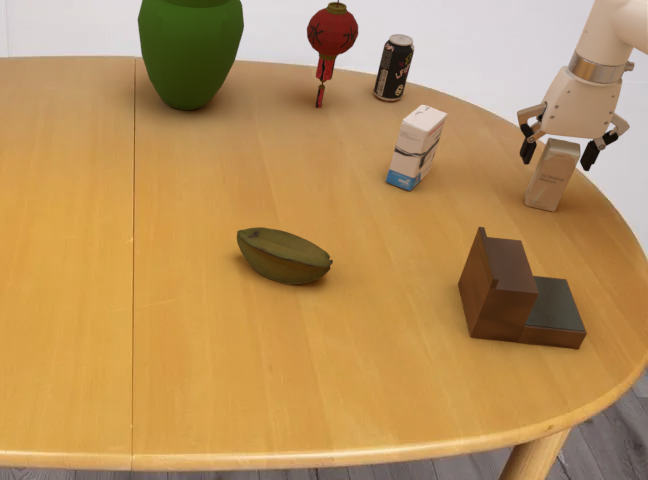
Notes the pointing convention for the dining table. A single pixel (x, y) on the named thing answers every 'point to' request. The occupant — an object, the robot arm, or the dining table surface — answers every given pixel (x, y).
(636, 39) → the robot arm
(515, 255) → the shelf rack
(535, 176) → the box
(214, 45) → the vase
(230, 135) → the dining table surface
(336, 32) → the lantern
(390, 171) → the ink box
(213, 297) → the dining table surface
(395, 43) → the beverage can
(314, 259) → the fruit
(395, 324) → the dining table surface
